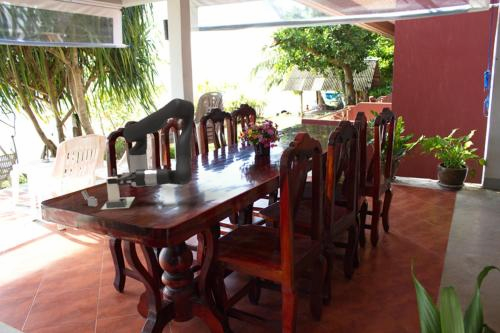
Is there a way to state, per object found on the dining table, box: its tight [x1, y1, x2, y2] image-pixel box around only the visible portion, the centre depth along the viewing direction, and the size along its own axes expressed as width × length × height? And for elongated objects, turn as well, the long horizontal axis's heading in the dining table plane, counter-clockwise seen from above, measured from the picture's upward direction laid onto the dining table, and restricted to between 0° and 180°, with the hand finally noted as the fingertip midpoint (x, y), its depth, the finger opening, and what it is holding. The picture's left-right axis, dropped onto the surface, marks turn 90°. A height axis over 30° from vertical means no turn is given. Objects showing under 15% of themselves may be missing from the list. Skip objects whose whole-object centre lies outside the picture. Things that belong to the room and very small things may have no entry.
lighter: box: [81, 189, 99, 207], centre depth 199 cm, size 7×2×8 cm, turn 69°
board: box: [101, 196, 135, 210], centre depth 202 cm, size 18×12×4 cm, turn 6°
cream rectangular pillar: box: [106, 168, 121, 202], centre depth 196 cm, size 3×4×17 cm, turn 97°
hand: (109, 179), depth 195 cm, fingers open, 8 cm apart
